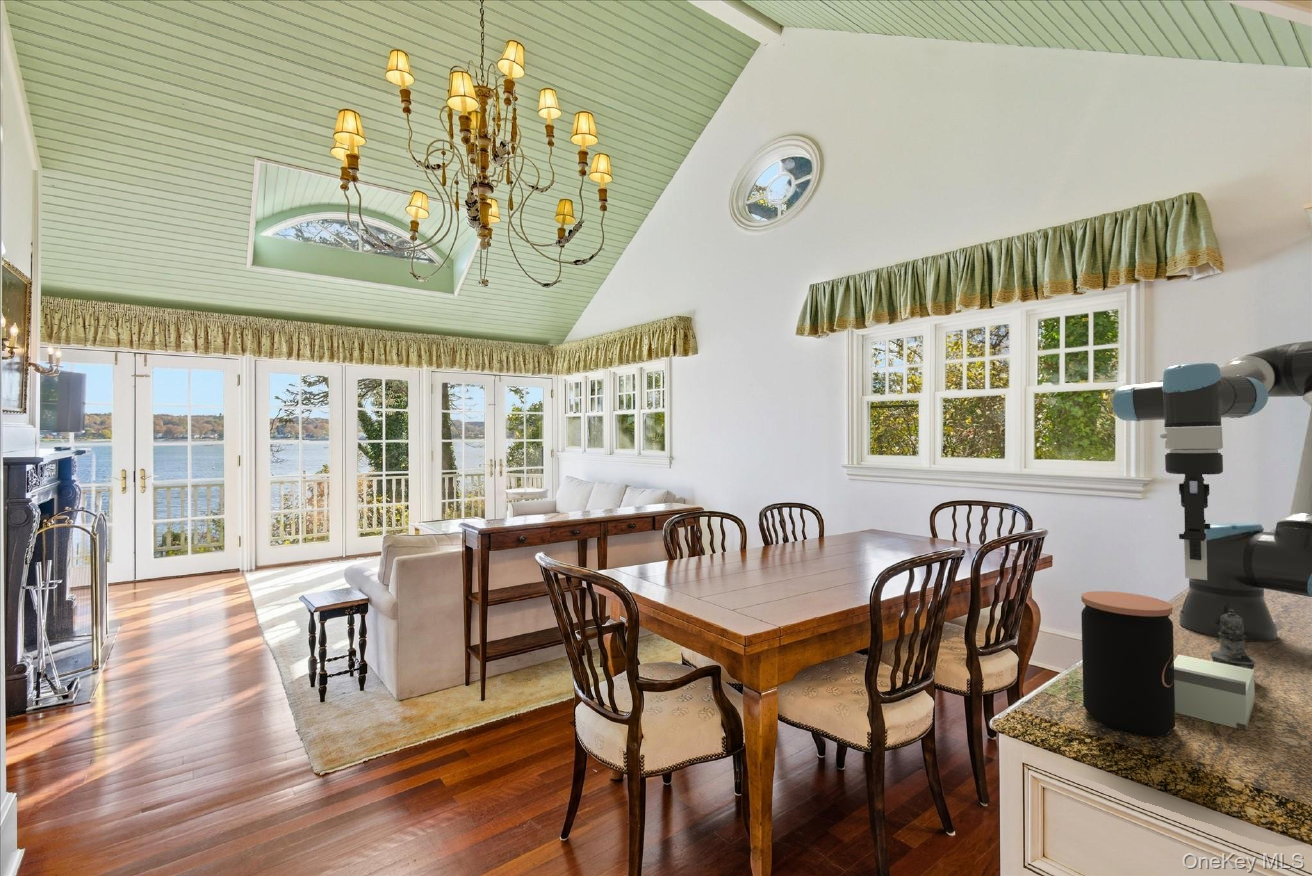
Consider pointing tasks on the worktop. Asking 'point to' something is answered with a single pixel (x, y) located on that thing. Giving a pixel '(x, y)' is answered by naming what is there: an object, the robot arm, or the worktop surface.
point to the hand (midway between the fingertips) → (1196, 571)
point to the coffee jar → (1128, 662)
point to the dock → (1214, 691)
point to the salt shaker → (1232, 643)
